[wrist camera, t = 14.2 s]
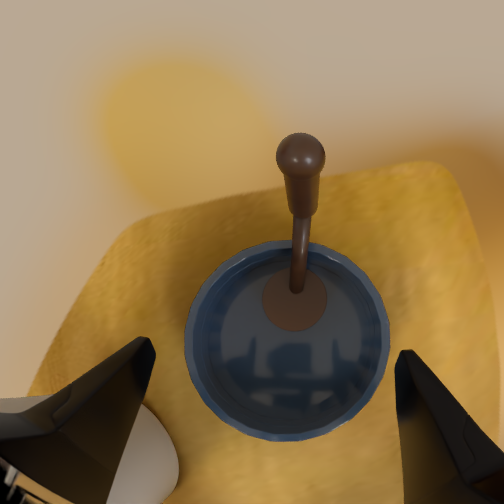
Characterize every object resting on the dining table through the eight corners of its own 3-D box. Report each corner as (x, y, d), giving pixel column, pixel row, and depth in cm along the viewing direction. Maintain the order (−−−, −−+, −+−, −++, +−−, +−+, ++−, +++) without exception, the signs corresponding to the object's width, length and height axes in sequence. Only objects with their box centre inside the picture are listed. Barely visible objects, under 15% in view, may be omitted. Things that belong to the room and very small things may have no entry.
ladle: (320, 335, 20) (342, 337, 8) (259, 326, 21) (203, 314, 9) (334, 232, 22) (357, 128, 10) (277, 225, 22) (248, 120, 11)
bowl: (349, 437, 18) (357, 456, 14) (187, 397, 21) (166, 407, 17) (388, 273, 21) (404, 260, 17) (227, 242, 24) (213, 224, 20)
